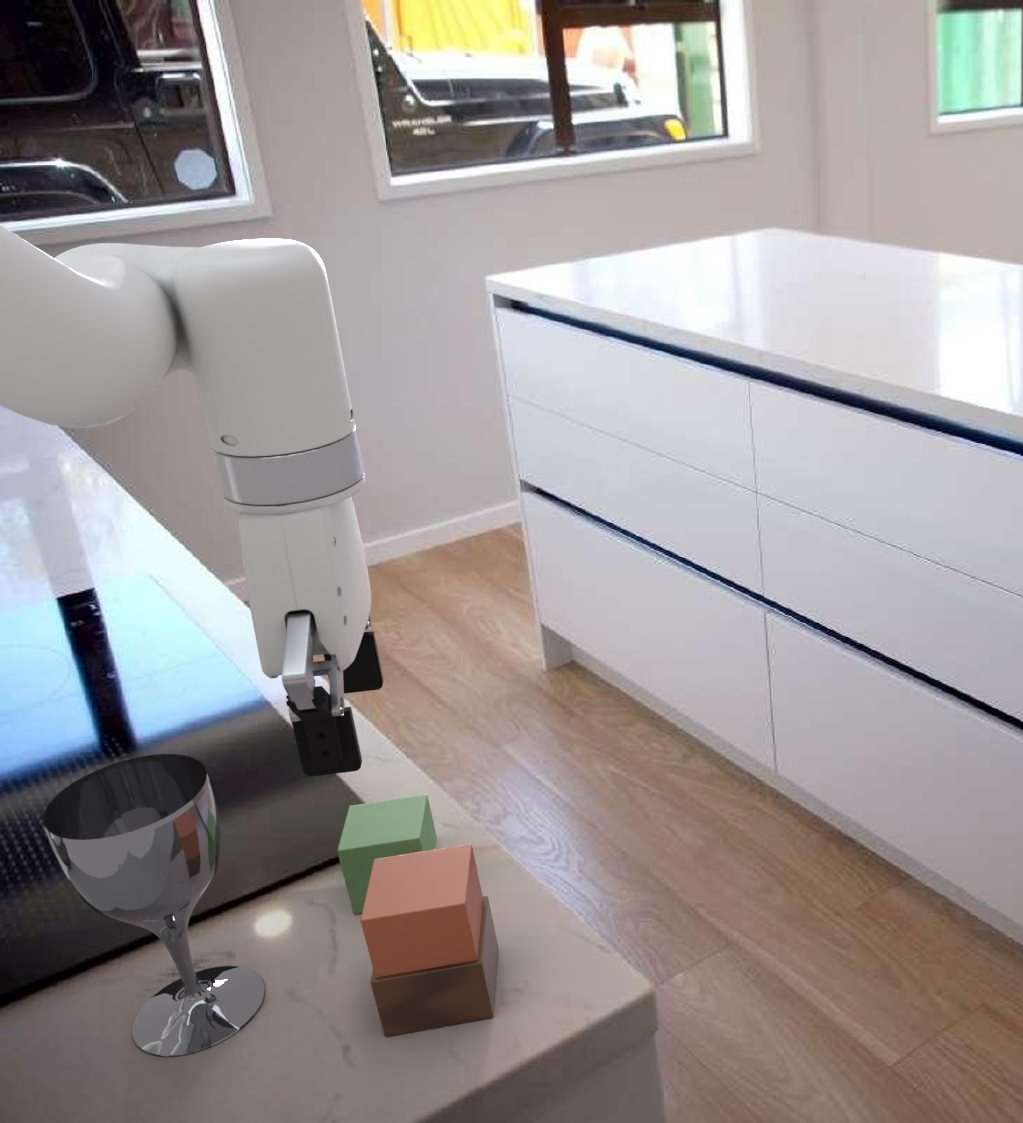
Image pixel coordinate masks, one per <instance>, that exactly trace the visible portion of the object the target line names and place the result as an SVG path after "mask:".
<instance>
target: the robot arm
mask: <svg viewBox="0 0 1023 1123" xmlns="http://www.w3.org/2000/svg"><path fill="white" fill-rule="evenodd" d="M333 304H334V303H333V299H332V294H331V288H330V284H329V280H328V274H327V270H326V267H325V264H324V262H323V260H322V258H321V257H320V255H319V253H318V252H317V251H316V250H315V249H313V247H311V246H309V245H308V244H306V243H303V242H301V241H297V240H293V239H284V238H253V239H241V240H239V239H238V240H231V241H224V242H217V243H212V244H207V245H204V246H200V247H198V246H197V247H195V246H194V247H193V246H163V245H151V244H150V245H149V244H136V243H122V242H120V243H119V242H100V243H89V244H84V245H80V246H77V247H73V248H70V249H68V250H66V251H64V252H61V253H60V254H58V255H56V256H55V257H53V256H51V255H49V254H48V253H46V252H45V251H43V250H41V249H40V248H38V247H37V246H35V245H33V244H31V242H28V240H27V241H26V240H25V239H24V238H22V237H21V236H19V235H18V234H16V233H15V232H13V231H11V230H10V229H9V228H7V227H6V226H4V225H2V224H1V223H0V407H3V408H5V409H6V410H8V411H12V412H14V413H16V414H18V415H20V416H23V417H25V418H28V419H31V420H35V421H37V422H40V423H44V424H47V425H51V426H56V427H63V428H69V429H88V428H95V427H101V426H106V425H110V424H113V423H115V422H117V421H120V420H122V419H124V418H126V417H127V416H129V415H131V414H132V413H134V412H135V411H136V410H138V409H139V408H140V407H141V406H142V405H143V404H144V403H145V402H146V401H147V400H148V399H149V398H150V397H151V395H152V394H153V393H154V391H155V390H156V388H157V387H158V386H159V384H160V383H161V382H162V381H163V380H165V379H167V378H170V377H171V376H173V375H174V374H176V373H178V372H180V371H187V372H189V373H190V374H192V375H193V377H194V380H195V384H196V387H197V392H198V396H199V400H200V405H201V409H202V414H203V417H204V421H205V426H206V430H207V433H208V434H207V435H208V438H209V442H210V447H211V452H212V456H213V460H214V464H215V469H216V473H217V477H218V481H219V486H220V489H221V493H222V496H223V497H222V498H223V502H224V505H225V506H226V508H228V509H229V510H231V511H234V512H236V513H238V525H239V528H238V530H239V542H240V551H241V559H242V567H243V568H242V569H243V572H244V573H243V574H244V581H245V586H246V592H247V599H248V603H249V609H250V614H251V615H250V616H251V620H252V625H253V631H254V636H255V642H256V646H257V647H256V648H257V652H258V657H259V658H258V659H259V663H260V667H261V670H262V673H263V674H264V675H265V676H266V678H269V679H277V678H278V677H280V676H281V683H282V686H283V689H284V690H285V692H286V694H287V695H286V697H285V698H286V701H285V704H286V706H287V707H288V715H289V719H290V722H291V725H292V730H293V734H294V738H295V739H294V740H295V743H296V747H297V752H298V755H299V756H298V757H299V760H300V764H301V770H302V773H303V774H304V775H305V776H306V777H309V778H311V777H319V776H328V775H334V774H343V773H352V772H357V771H359V770H360V769H361V767H362V764H363V757H362V752H361V748H360V742H359V738H358V733H357V729H356V724H355V719H354V715H353V709H352V706H345V694H353V693H354V694H355V693H363V692H371V691H379V690H381V689H382V688H383V686H384V677H383V676H384V675H383V671H382V664H381V660H380V656H379V649H378V645H377V639H376V635H375V630H371V629H372V617H371V608H372V591H371V582H370V575H369V569H368V565H367V558H366V553H365V549H364V544H363V539H362V535H361V529H360V526H359V521H358V517H357V516H358V515H357V513H356V508H355V504H354V497H353V496H355V495H356V493H359V492H361V490H363V488H364V487H365V486H366V483H367V480H366V474H365V469H364V462H363V458H362V452H361V447H360V442H359V436H358V432H357V427H356V422H355V417H354V411H353V406H352V402H351V401H352V400H351V396H350V391H349V385H348V380H347V375H346V368H345V362H344V356H343V352H342V347H341V346H342V345H341V342H340V336H339V331H338V325H337V321H336V315H335V309H334V305H333ZM370 630H371V631H370ZM320 655H323V659H324V660H318V661H314V656H320ZM320 676H327V677H328V686H329V692H328V691H327V690H326V689H325V688H324V687H323V686H322V685H319V686H316V679H315V677H320Z"/></svg>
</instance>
